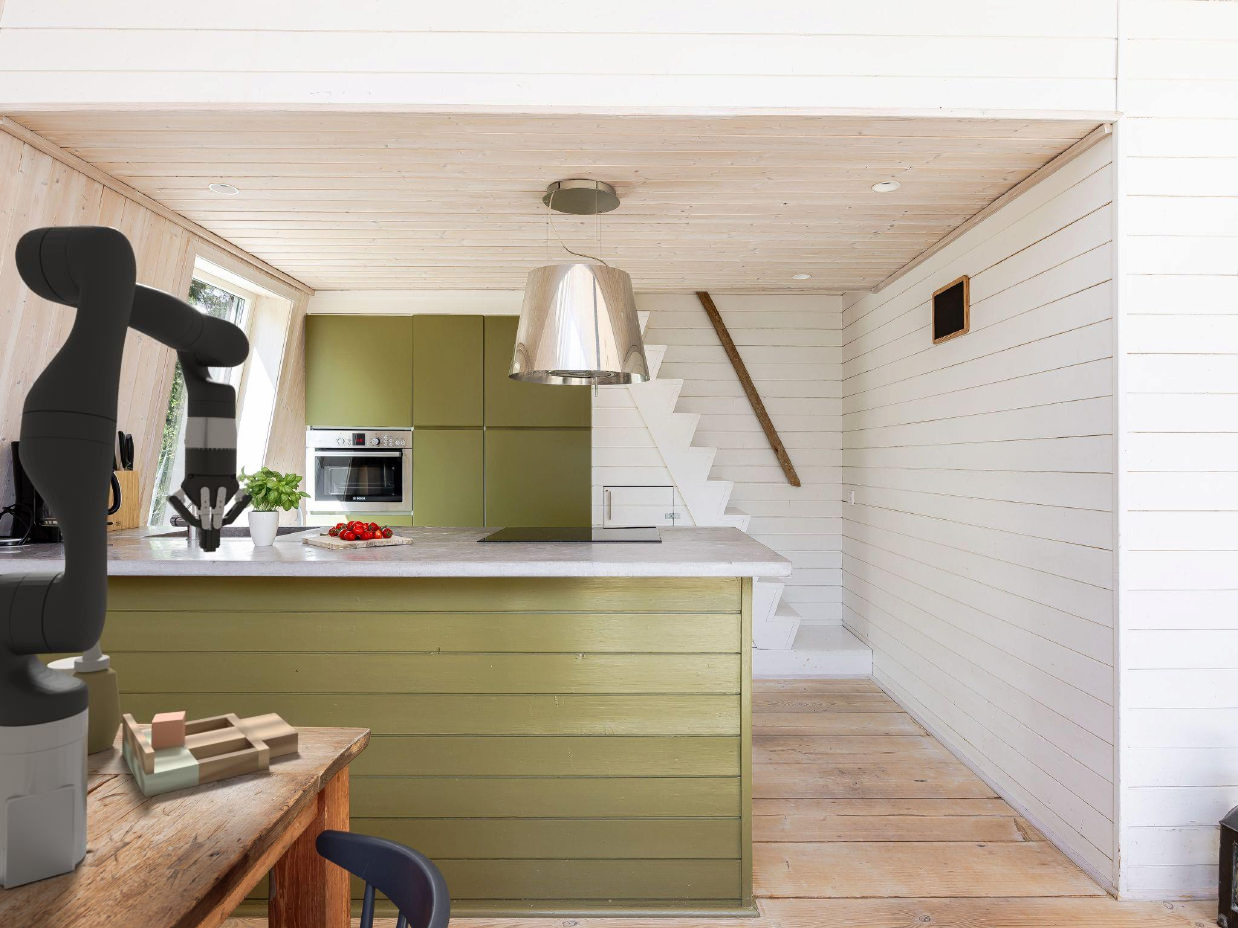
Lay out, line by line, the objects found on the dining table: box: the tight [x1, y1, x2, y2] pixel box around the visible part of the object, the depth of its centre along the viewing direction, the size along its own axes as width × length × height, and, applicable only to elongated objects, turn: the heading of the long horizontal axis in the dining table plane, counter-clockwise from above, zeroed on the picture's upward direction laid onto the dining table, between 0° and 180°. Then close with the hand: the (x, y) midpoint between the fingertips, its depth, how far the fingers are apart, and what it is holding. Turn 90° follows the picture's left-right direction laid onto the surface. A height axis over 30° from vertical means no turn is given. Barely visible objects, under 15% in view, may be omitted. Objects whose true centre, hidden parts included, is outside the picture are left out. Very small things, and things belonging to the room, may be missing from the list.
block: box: [151, 710, 186, 749], centre depth 116 cm, size 4×4×4 cm
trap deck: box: [121, 712, 299, 798], centre depth 119 cm, size 20×22×6 cm
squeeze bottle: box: [70, 640, 123, 754], centre depth 121 cm, size 8×8×18 cm
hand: (209, 551), depth 125 cm, fingers closed
